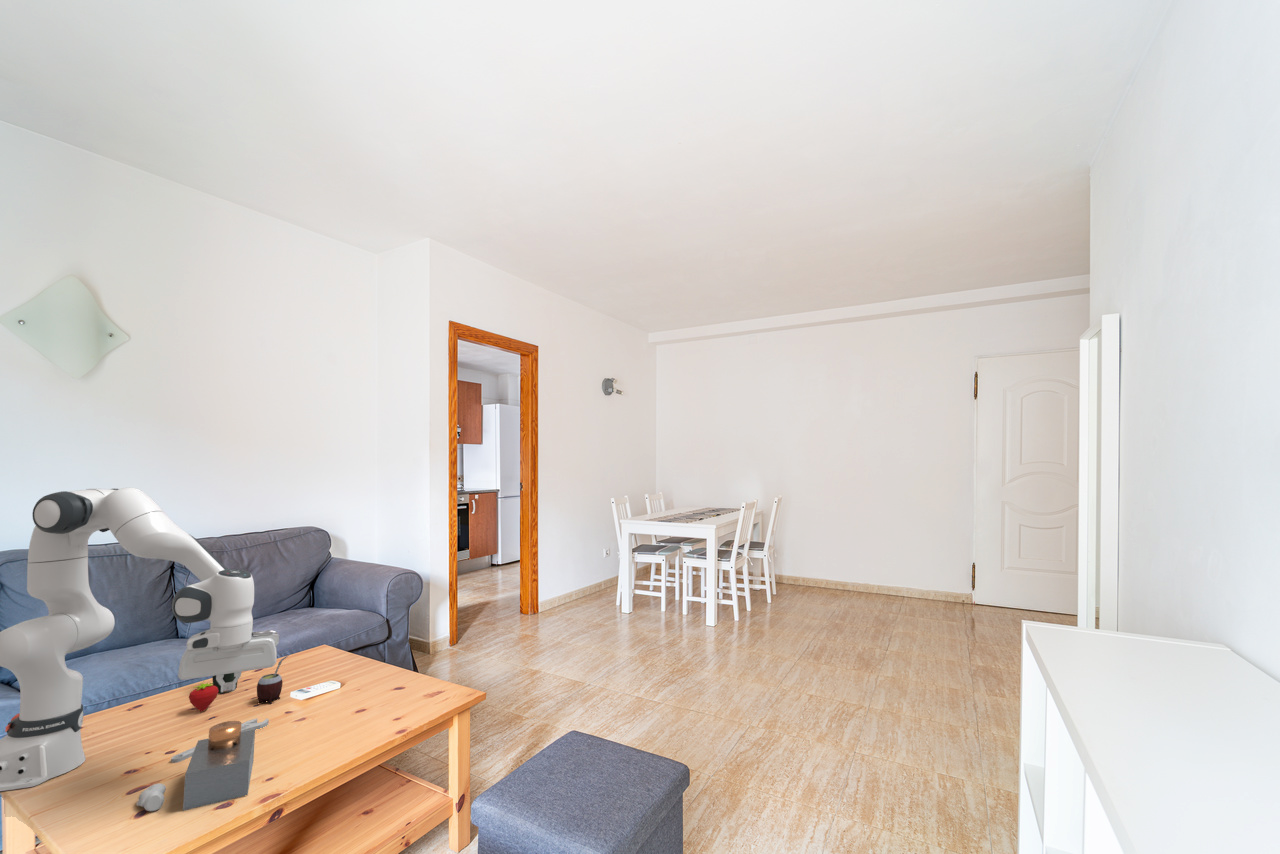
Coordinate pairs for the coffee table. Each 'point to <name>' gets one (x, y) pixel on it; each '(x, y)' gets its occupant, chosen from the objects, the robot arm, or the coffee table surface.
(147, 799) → the mannequin head
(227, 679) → the potion bottle
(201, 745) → the block
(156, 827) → the coffee table surface
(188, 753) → the adjustable wrench
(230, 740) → the pin
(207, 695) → the strawberry
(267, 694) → the mate gourd
